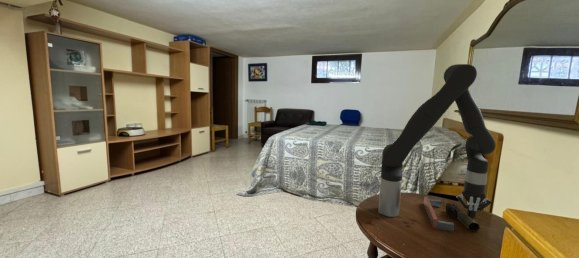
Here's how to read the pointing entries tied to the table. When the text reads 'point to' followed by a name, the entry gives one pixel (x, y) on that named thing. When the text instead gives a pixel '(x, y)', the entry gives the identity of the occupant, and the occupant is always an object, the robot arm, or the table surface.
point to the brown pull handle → (432, 216)
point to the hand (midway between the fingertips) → (470, 217)
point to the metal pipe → (461, 217)
